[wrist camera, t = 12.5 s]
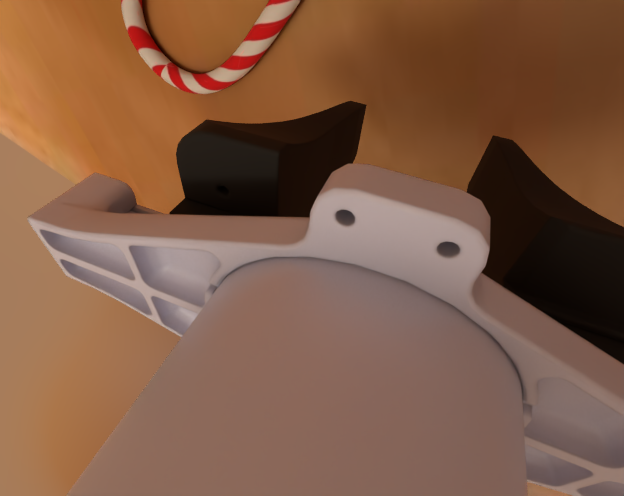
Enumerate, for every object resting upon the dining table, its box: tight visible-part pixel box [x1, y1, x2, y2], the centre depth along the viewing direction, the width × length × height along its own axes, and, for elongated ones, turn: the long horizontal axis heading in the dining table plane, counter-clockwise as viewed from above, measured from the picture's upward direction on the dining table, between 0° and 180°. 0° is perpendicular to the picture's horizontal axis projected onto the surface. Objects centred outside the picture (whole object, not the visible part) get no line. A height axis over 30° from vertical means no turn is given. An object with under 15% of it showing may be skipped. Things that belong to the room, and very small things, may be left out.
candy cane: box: [121, 0, 301, 94], centre depth 19 cm, size 8×1×15 cm
